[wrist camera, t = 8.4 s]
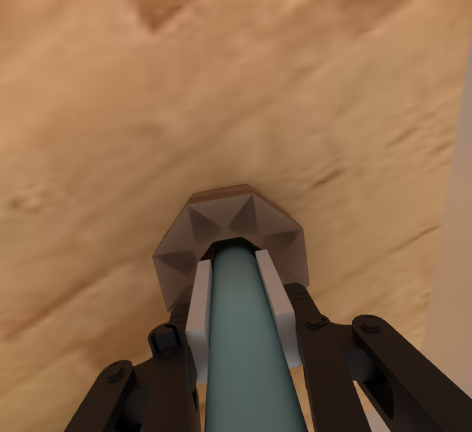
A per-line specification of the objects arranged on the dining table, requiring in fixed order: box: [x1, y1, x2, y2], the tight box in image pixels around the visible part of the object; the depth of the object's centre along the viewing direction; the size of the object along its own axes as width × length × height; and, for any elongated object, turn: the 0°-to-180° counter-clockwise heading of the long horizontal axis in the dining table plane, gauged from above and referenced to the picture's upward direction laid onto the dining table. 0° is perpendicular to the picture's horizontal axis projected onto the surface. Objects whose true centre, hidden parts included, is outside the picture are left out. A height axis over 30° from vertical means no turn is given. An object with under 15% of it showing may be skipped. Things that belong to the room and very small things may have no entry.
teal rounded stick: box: [204, 237, 308, 432], centre depth 14 cm, size 3×3×16 cm
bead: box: [152, 184, 309, 313], centre depth 20 cm, size 10×10×4 cm
